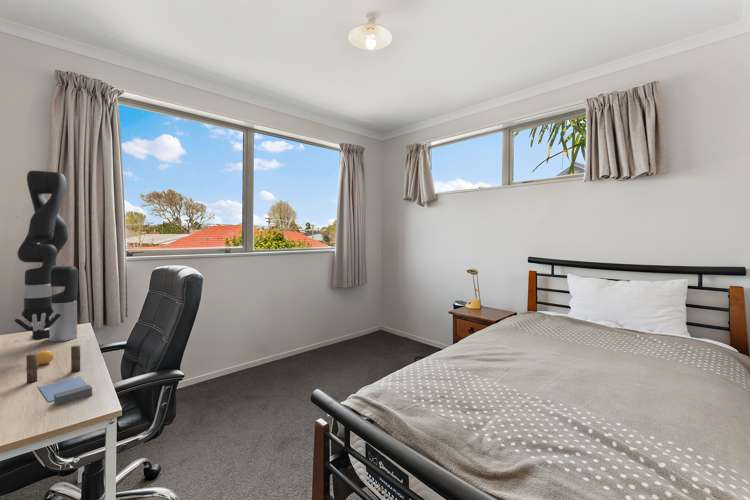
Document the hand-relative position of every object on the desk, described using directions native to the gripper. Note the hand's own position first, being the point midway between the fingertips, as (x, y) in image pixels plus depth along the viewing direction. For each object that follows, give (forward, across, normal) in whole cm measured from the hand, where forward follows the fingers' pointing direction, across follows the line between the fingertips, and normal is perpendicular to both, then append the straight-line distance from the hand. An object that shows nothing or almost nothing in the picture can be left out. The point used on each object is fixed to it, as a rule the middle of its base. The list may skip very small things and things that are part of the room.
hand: (37, 339), depth 126 cm
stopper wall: (+8, -1, +49) cm, 50 cm away
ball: (+5, 0, +9) cm, 10 cm away
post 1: (+8, +5, +25) cm, 27 cm away
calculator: (+7, -11, -36) cm, 38 cm away
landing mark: (+8, -1, +39) cm, 40 cm away
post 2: (+8, -6, +25) cm, 27 cm away
